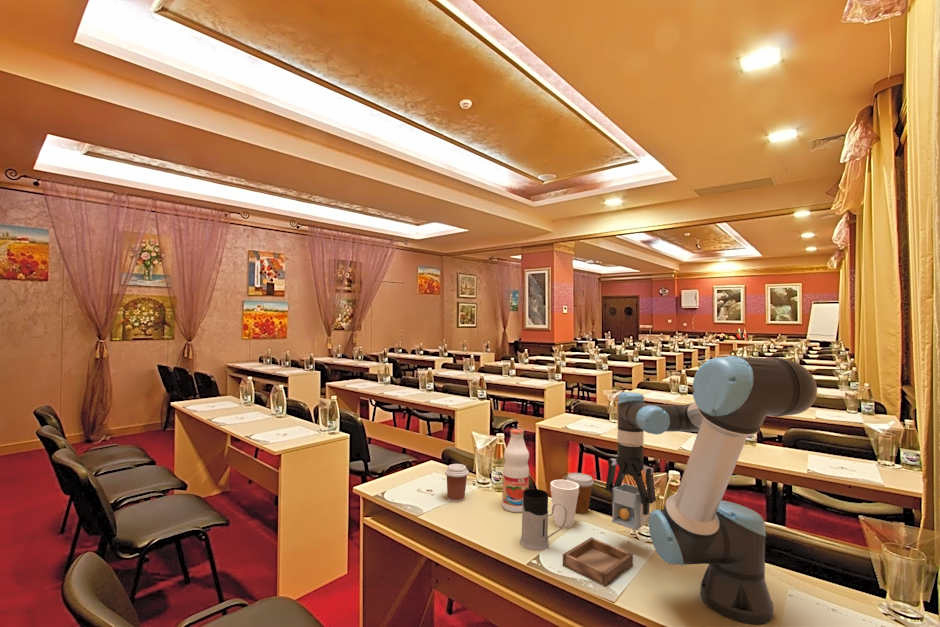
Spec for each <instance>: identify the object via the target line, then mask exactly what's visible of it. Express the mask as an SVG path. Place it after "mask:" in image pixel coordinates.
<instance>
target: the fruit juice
mask: <svg viewBox="0 0 940 627" xmlns="http://www.w3.org/2000/svg"><path fill="white" fill-rule="evenodd" d="M524 435H525V431H524V429H521V428H511V429H510V437H509V442H508V444H507V446H506V448H505V450H504V451H503V452H504V453H503V456H504V464H503V468H502V469H503V470H502V500H501V504H502V508H503V510H505V511H508V512H510V513H522V503H523V492H524V491H525V490H527V489H530V488H529V487H530V481H529V480H530V468H529V464H528V462H529V458H530V451H529V450H528V448H527V445H526V442H525V440H524Z"/></svg>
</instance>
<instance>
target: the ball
mask: <svg viewBox="0 0 940 627" xmlns="http://www.w3.org/2000/svg"><path fill="white" fill-rule="evenodd" d="M619 516H620V517H621V518H622V519H624V520H626V519H628V518H629V517H630V513H629V511H628V510H627V509H625V508H622V509H620V510H619Z"/></svg>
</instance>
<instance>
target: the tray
mask: <svg viewBox="0 0 940 627" xmlns="http://www.w3.org/2000/svg"><path fill="white" fill-rule="evenodd" d="M633 557H634V554H633V553H630V552H629V551H625V550H622V549H621V548H618V547H616V546H613V545H611V544H608V543H606V542H603V541H601V540H599V539H596V538H594V537H589V538H588V539H586V540H584V541H583V542H581V543H579V544H578V545H576V546H574V547H572V548H571V549H569V550H567V551H566V552H564V553H562V566H563V567H565V568H568V570H569V569H570V570H571V571H574V572H576V573H577V574H580V575H582V576H584V577H586V578H588V579H590V580H592V581H595V582H596V583H598V584H600V585H602V586H604V587H607V586H608V585H610V584H611V583H612V582H613V581H615V580H616V579H617V578H619V577H620V576H621V575H623V574H624V573H625V572H626V571H627V570H628V569H629V568H631V567H633V565H634V564H633V563H634V562H633V561H634V558H633Z"/></svg>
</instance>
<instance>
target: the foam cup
mask: <svg viewBox="0 0 940 627" xmlns="http://www.w3.org/2000/svg"><path fill="white" fill-rule="evenodd" d="M549 489H550V493H551V504H552V507H553V505H554V504H556V503H561V504H563V505H564V506H565V508H566V510H567V518H566V522H565V524H564V526H563V528H562V529H568V528H572V527H573V526H574V522H575V517H576V513H575V511H576V505H577V498H578V494H579V485H578V484H577V483H575V482H573V481H569V480H567V479H554V480H552V481H550V488H549ZM552 516H553V523H554V525H555V526H557V527H559V528H561V526H562V525H563V523H564V520H565V509H564V508H563V506H561V505H559V504H557V505H555V507H554V510H553V515H552Z"/></svg>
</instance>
